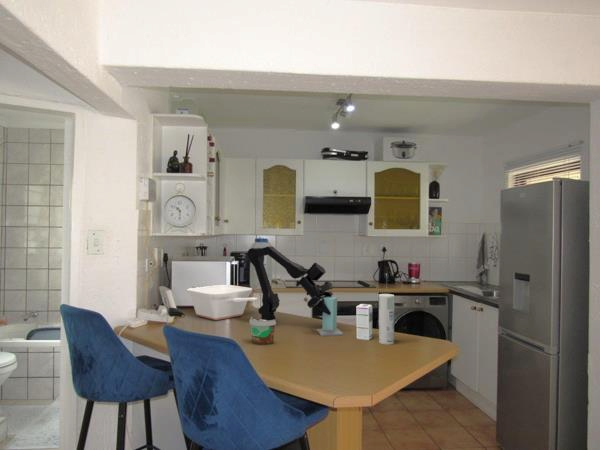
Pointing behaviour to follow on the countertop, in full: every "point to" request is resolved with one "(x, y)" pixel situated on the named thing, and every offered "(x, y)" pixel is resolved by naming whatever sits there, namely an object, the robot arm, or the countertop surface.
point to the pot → (220, 301)
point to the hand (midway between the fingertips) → (332, 313)
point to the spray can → (386, 318)
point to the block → (331, 319)
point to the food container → (262, 331)
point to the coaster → (329, 332)
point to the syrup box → (364, 321)
